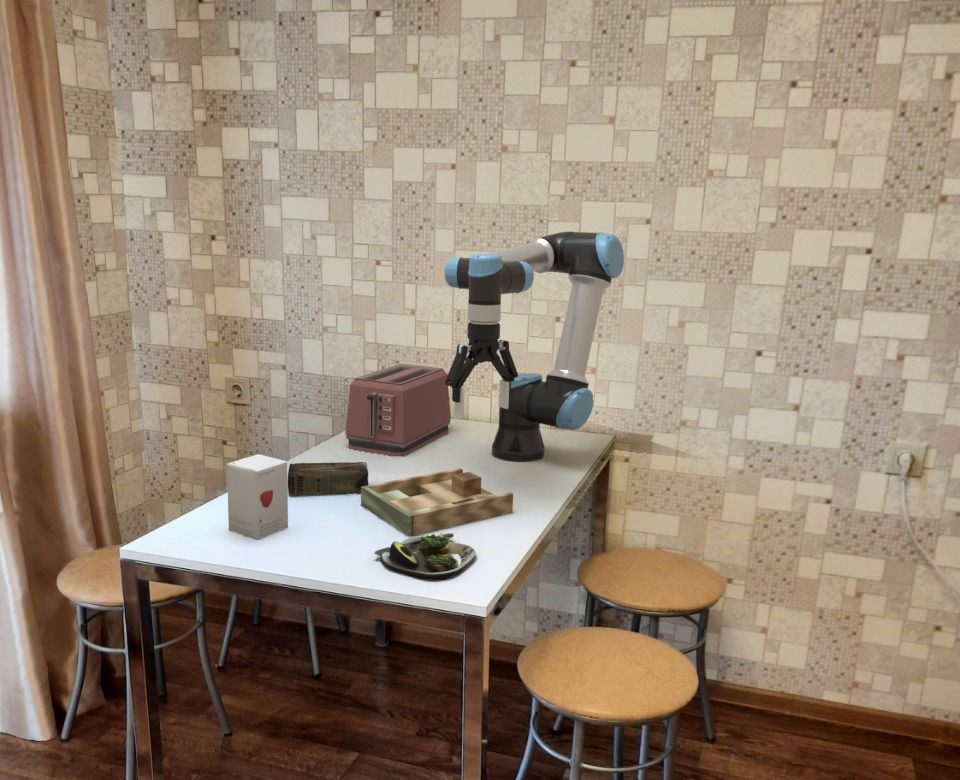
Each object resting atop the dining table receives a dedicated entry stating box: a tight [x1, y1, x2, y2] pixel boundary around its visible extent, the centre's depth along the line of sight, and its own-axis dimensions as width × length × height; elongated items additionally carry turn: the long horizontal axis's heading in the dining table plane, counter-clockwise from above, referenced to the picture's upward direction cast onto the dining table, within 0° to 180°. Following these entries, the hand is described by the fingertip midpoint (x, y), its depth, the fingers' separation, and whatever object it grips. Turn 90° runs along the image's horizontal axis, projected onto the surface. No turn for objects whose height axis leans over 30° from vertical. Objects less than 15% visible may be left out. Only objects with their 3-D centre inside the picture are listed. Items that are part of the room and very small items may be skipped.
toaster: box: [344, 363, 452, 457], centre depth 239 cm, size 19×34×20 cm, turn 156°
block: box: [451, 471, 482, 497], centre depth 190 cm, size 5×5×4 cm
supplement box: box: [226, 453, 289, 541], centre depth 170 cm, size 9×9×15 cm
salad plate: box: [373, 532, 477, 581], centre depth 160 cm, size 19×18×5 cm
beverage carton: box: [287, 461, 369, 497], centre depth 196 cm, size 8×19×7 cm, turn 102°
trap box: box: [360, 468, 514, 538], centre depth 186 cm, size 28×22×4 cm
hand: (481, 411), depth 191 cm, fingers open, 13 cm apart
